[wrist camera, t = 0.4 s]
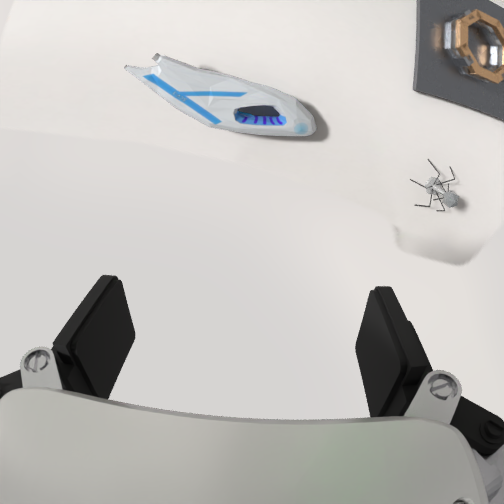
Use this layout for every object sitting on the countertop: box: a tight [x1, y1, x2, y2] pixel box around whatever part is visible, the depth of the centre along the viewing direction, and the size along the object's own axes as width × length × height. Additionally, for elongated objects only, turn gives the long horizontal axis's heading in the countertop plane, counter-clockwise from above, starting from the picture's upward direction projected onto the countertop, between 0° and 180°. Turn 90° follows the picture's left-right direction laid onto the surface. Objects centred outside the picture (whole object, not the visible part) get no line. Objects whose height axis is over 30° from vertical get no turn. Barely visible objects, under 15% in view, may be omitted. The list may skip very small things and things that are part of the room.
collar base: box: [413, 0, 504, 120], centre depth 26 cm, size 18×18×4 cm
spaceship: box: [124, 53, 317, 136], centre depth 33 cm, size 23×7×4 cm, turn 69°
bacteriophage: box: [410, 159, 459, 211], centre depth 35 cm, size 7×8×7 cm
